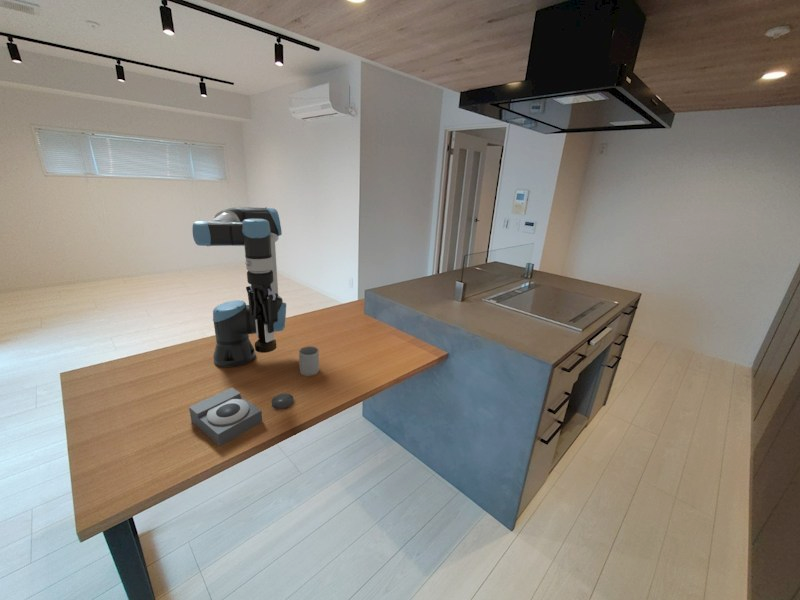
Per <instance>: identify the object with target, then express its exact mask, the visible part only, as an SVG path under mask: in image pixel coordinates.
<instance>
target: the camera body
mask: <svg viewBox="0 0 800 600" xmlns="http://www.w3.org/2000/svg"><path fill="white" fill-rule="evenodd" d="M188 408H189V409H188V410H189V414H190V421H191V423H192V424H194V425H195V426H196V427H197V428H198V429H200V431H201V432H203V433H204V434H205V435H206V436H208V438H210V439H211V440H212V441H213V442H215V444H217V446H219V447H221V446H223V445H225V444H226V443H228V442H229V441H232V440H233V439H235V438H236V437H238V436H240V435H242V434H243V433H245V432H247V431H248V430H249V431H250V429H253V427H256V426H257V425H259V424H261V423H262V422H263V413H262V410H261V409H260V408H259V407H257V406H255V405H254V404H253V403H251V402H250V401H249V400H247V399H245V397H242V396H241V392H239V391H238V390H236V389H235V388H234V387H230V388H228V389H225V390H223V391H221V392H219V393H217V394H214V395H211V396H210V397H208V398H206V399H203V400H201V401H199V402H196V403H195V404H192V405H190V406H189V407H188Z"/></svg>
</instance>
